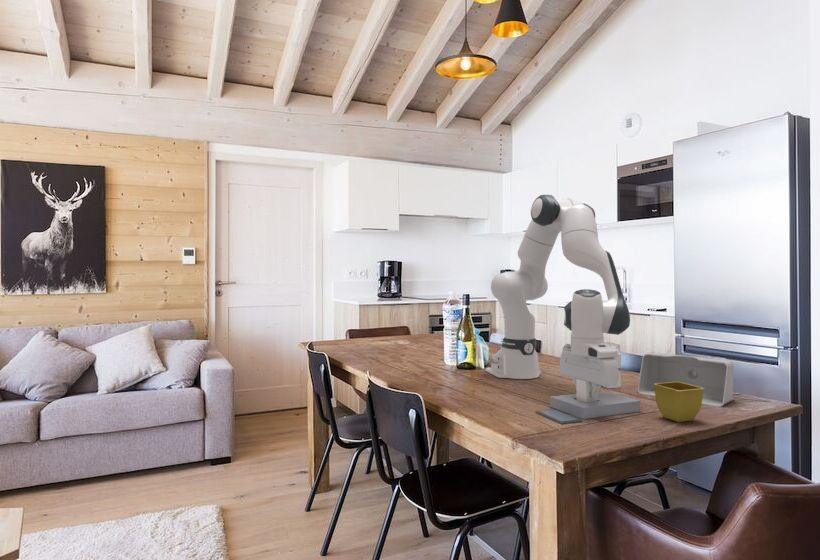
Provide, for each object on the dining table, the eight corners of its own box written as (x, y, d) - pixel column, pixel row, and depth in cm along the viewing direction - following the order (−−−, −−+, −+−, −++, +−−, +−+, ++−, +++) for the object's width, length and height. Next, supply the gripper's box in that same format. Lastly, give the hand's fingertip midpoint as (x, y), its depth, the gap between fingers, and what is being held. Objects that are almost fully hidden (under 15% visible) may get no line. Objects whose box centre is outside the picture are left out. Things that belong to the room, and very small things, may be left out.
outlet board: (550, 406, 156) (550, 396, 156) (604, 400, 164) (604, 390, 164) (583, 419, 143) (583, 407, 143) (640, 411, 151) (640, 400, 151)
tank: (739, 398, 167) (740, 358, 167) (723, 407, 156) (723, 364, 155) (657, 386, 185) (657, 349, 185) (636, 393, 174) (637, 354, 174)
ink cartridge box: (593, 383, 189) (593, 341, 188) (606, 382, 190) (606, 341, 190) (608, 388, 180) (608, 344, 180) (621, 388, 182) (621, 344, 181)
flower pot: (704, 422, 140) (705, 387, 140) (678, 425, 138) (679, 390, 137) (677, 413, 149) (678, 381, 149) (652, 416, 146) (652, 383, 146)
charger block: (576, 403, 154) (576, 376, 154) (587, 402, 155) (587, 375, 155) (586, 406, 150) (586, 379, 150) (597, 405, 152) (597, 378, 151)
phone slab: (535, 414, 150) (535, 410, 150) (555, 412, 152) (555, 408, 152) (561, 426, 139) (561, 422, 139) (582, 424, 141) (582, 420, 141)
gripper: (554, 343, 161) (554, 389, 161) (604, 353, 142) (603, 405, 142) (571, 342, 163) (571, 388, 163) (622, 351, 144) (622, 403, 145)
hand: (586, 396), depth 153 cm, fingers closed on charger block, 4 cm apart
